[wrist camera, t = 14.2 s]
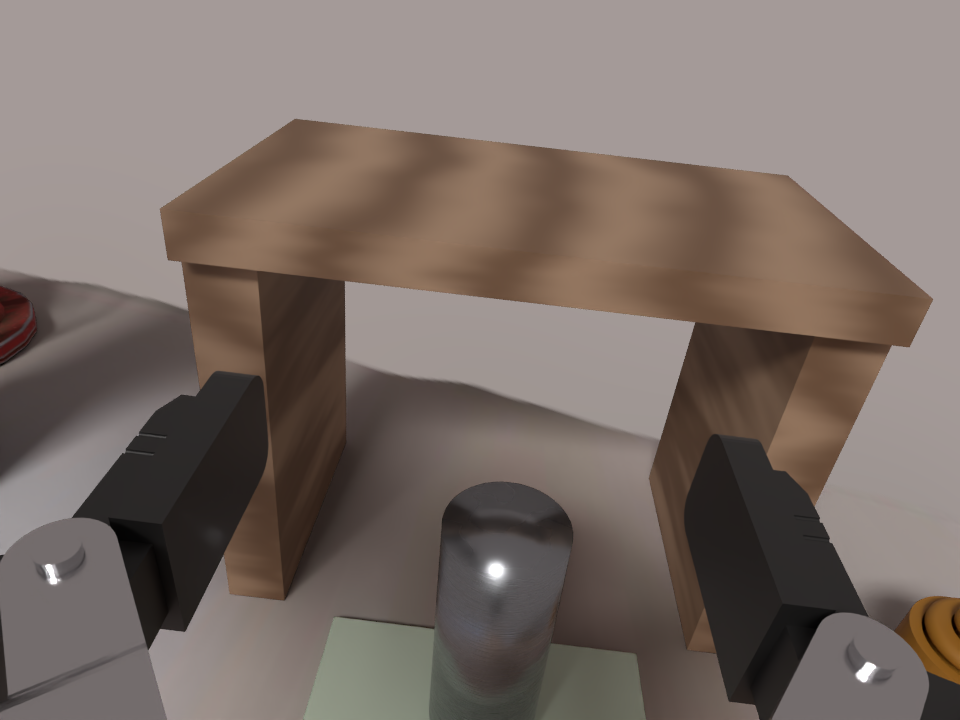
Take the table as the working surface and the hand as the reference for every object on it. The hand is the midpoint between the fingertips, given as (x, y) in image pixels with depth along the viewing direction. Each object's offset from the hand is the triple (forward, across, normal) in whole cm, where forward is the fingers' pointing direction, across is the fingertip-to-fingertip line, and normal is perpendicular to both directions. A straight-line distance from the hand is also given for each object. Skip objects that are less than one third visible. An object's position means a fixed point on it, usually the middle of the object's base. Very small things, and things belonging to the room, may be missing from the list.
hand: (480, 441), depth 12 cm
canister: (+8, -2, +23) cm, 25 cm away
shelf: (+20, -2, +24) cm, 32 cm away
